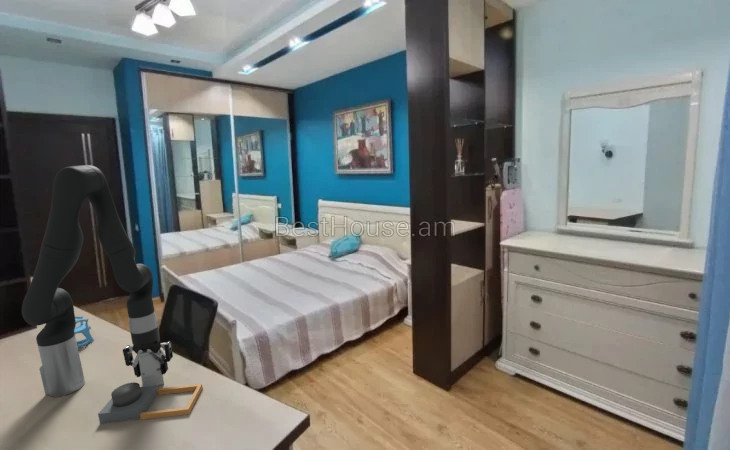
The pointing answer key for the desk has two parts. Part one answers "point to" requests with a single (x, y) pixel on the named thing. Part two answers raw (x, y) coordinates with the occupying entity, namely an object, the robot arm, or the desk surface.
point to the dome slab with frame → (143, 402)
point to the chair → (83, 331)
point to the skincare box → (150, 370)
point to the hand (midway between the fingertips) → (152, 374)
